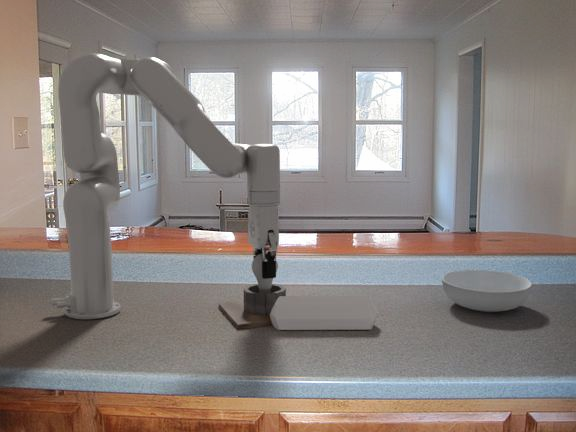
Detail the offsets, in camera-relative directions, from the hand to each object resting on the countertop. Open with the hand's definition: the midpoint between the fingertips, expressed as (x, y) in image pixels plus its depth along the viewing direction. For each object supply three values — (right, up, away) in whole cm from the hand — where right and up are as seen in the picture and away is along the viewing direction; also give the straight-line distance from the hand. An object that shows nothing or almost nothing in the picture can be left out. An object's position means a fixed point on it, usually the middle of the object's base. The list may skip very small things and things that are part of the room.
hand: (264, 274), depth 152 cm
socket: (0, -9, +1) cm, 9 cm away
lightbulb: (0, -6, +1) cm, 6 cm away
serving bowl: (+53, -9, +6) cm, 55 cm away
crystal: (+13, -11, -8) cm, 19 cm away
